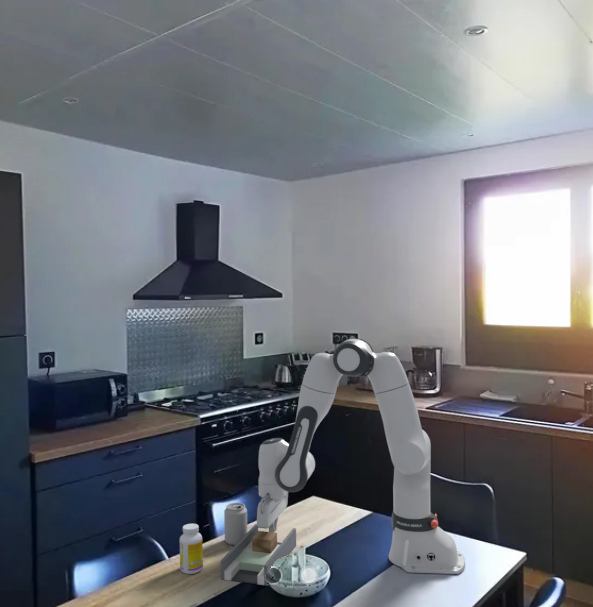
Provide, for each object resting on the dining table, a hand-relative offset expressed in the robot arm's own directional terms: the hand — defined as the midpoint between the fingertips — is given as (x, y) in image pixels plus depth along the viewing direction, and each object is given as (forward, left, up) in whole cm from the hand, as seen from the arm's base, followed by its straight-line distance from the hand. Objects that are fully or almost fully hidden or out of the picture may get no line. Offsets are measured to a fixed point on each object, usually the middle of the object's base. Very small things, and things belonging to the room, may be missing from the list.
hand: (272, 531), depth 191 cm
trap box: (0, +11, -5) cm, 12 cm away
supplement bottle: (+18, +22, -5) cm, 29 cm away
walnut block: (0, +8, -2) cm, 8 cm away
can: (+13, 0, -5) cm, 14 cm away
